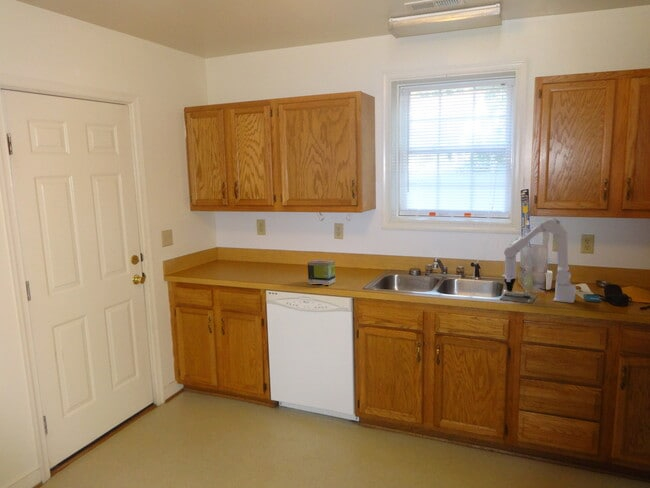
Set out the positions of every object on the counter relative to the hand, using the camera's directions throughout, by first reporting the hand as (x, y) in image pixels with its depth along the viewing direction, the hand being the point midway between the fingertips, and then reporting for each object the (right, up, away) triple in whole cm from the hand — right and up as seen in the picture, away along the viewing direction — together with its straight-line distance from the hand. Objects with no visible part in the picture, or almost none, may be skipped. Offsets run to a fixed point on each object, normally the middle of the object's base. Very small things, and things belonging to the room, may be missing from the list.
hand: (509, 291), depth 266 cm
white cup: (+24, +1, +10) cm, 26 cm away
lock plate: (+1, -3, -8) cm, 9 cm away
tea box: (-106, +1, +40) cm, 113 cm away
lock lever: (+2, -2, -6) cm, 6 cm away
